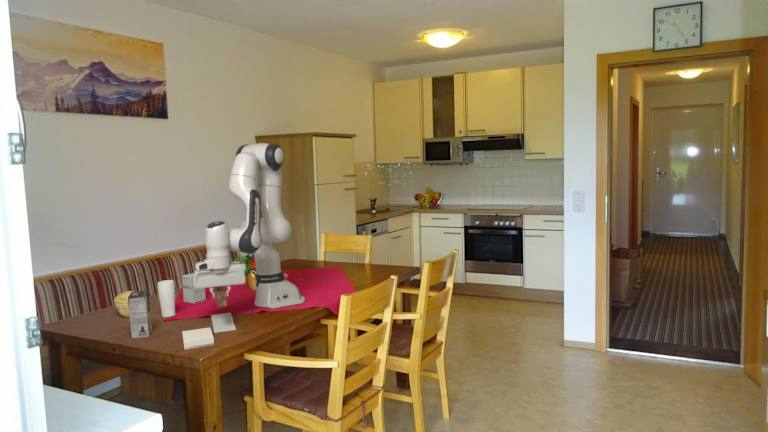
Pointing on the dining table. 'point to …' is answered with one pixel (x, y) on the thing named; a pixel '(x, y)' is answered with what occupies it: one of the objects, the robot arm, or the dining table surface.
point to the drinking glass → (167, 297)
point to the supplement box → (192, 290)
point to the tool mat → (223, 322)
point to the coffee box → (140, 314)
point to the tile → (197, 338)
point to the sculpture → (123, 303)
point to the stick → (220, 296)
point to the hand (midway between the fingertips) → (220, 297)
